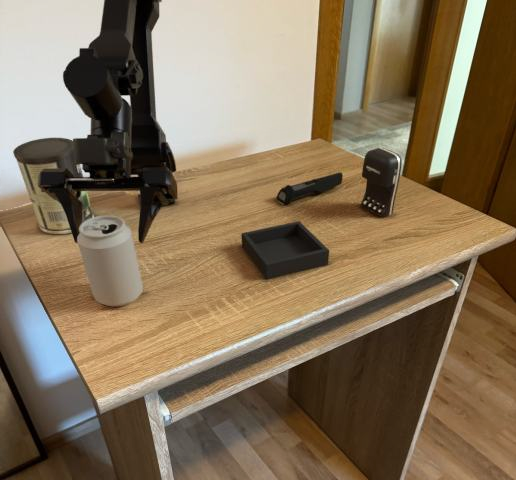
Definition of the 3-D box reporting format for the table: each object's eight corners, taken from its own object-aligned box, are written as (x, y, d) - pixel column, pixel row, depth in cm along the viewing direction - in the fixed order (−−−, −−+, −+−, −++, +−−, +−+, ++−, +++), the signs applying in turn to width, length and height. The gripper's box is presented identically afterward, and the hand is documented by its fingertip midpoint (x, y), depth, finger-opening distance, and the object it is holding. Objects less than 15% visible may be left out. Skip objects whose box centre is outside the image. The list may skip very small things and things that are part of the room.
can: (132, 312, 71) (115, 239, 64) (85, 307, 73) (63, 234, 65) (151, 284, 77) (137, 213, 69) (107, 279, 78) (89, 209, 70)
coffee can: (85, 205, 99) (66, 133, 89) (101, 225, 92) (82, 149, 83) (33, 218, 95) (7, 144, 85) (46, 240, 88) (19, 162, 79)
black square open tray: (241, 247, 85) (241, 233, 83) (298, 234, 88) (299, 220, 86) (266, 279, 77) (266, 265, 76) (328, 264, 80) (329, 250, 79)
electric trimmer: (345, 189, 103) (347, 174, 101) (285, 206, 97) (286, 191, 95) (334, 183, 105) (336, 169, 103) (275, 200, 99) (275, 184, 97)
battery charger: (354, 206, 96) (362, 148, 89) (369, 202, 98) (377, 144, 90) (378, 220, 92) (388, 160, 84) (393, 215, 93) (404, 155, 86)
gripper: (19, 107, 63) (15, 225, 62) (162, 105, 63) (161, 224, 62) (56, 148, 74) (54, 248, 73) (178, 146, 74) (177, 247, 73)
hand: (109, 242), depth 70 cm, fingers open, 9 cm apart
